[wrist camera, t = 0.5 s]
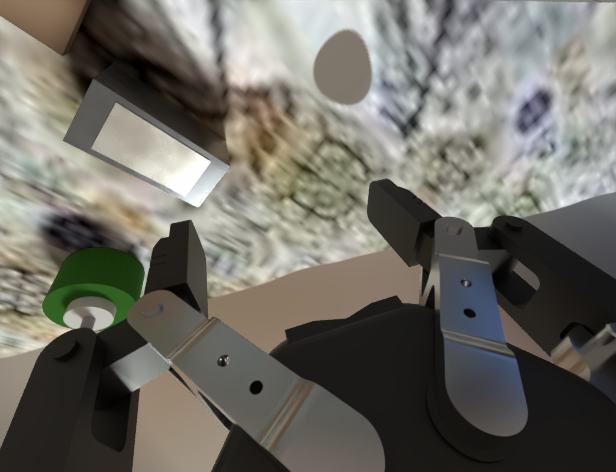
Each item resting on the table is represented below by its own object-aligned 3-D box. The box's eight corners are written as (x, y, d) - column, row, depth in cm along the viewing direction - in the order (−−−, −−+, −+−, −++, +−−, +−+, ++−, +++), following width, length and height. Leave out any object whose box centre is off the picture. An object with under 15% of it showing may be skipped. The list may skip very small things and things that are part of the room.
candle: (120, 301, 37) (101, 374, 30) (47, 278, 32) (2, 361, 25) (158, 266, 35) (147, 335, 28) (87, 235, 30) (50, 312, 23)
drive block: (115, 61, 21) (92, 79, 17) (225, 139, 28) (230, 167, 23) (88, 113, 23) (62, 141, 19) (198, 176, 29) (198, 208, 25)
